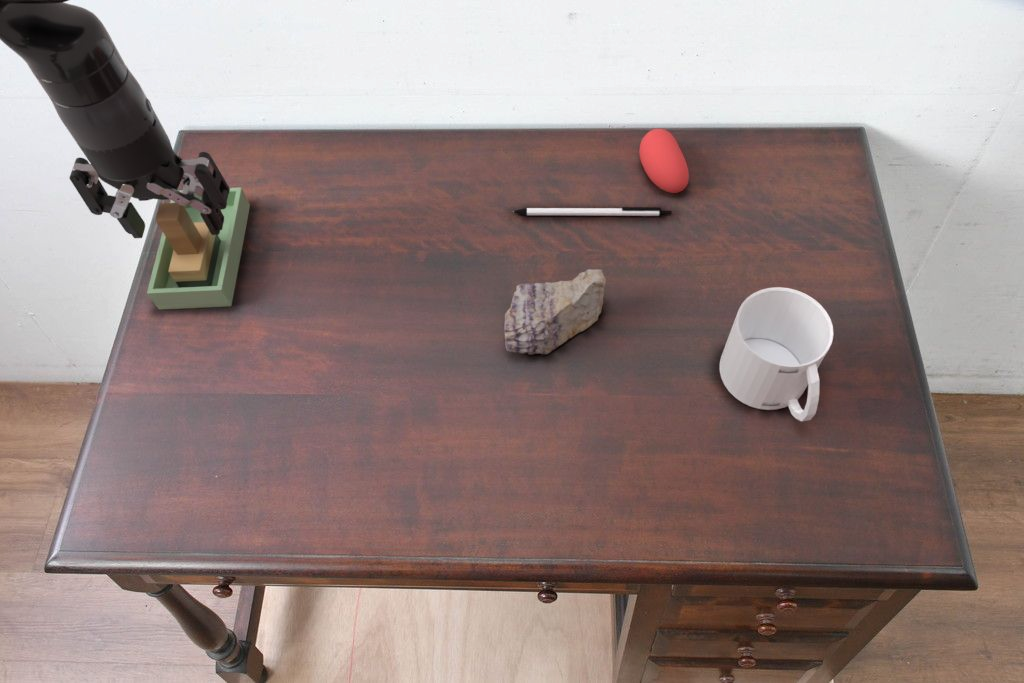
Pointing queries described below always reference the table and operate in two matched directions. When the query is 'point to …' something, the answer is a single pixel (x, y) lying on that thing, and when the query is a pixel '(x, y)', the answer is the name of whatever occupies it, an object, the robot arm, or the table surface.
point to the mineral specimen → (553, 312)
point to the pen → (595, 211)
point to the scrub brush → (188, 246)
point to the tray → (227, 263)
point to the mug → (777, 351)
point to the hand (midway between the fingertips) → (179, 230)
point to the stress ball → (664, 161)
